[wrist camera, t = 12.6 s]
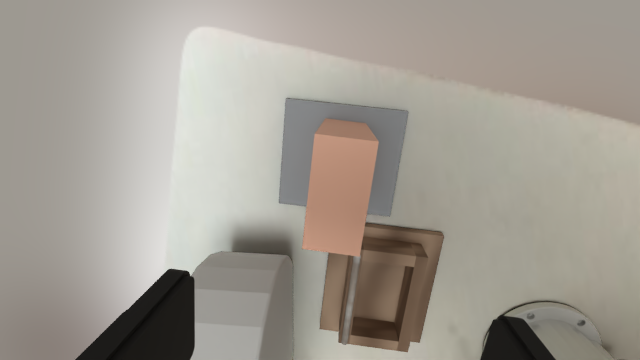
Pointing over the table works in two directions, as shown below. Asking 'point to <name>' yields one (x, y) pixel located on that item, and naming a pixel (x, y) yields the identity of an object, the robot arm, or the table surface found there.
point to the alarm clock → (244, 307)
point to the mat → (300, 140)
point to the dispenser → (382, 287)
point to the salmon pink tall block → (339, 187)
